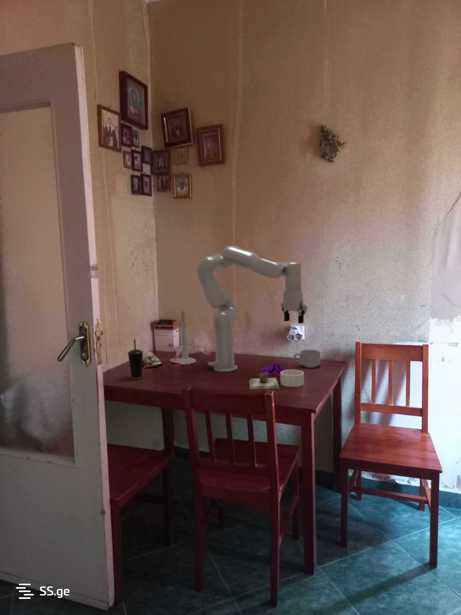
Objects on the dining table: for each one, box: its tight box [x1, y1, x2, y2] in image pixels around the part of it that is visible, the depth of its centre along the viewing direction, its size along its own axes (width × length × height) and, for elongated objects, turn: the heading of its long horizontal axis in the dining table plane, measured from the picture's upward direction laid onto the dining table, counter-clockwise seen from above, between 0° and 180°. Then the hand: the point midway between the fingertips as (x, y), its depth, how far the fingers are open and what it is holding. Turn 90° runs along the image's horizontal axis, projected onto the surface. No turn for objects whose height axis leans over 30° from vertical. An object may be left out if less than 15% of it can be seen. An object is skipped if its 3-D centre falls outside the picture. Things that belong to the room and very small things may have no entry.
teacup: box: [293, 348, 322, 369], centre depth 242 cm, size 14×11×8 cm
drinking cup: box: [127, 339, 144, 379], centre depth 231 cm, size 8×8×20 cm
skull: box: [142, 351, 162, 366], centre depth 256 cm, size 12×10×10 cm
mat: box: [248, 379, 280, 390], centre depth 212 cm, size 13×13×1 cm
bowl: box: [279, 369, 305, 388], centre depth 211 cm, size 10×10×6 cm
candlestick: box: [176, 310, 197, 364], centre depth 258 cm, size 13×13×30 cm
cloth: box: [259, 362, 293, 377], centre depth 231 cm, size 22×19×6 cm
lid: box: [249, 371, 279, 390], centre depth 211 cm, size 12×12×5 cm
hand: (293, 322), depth 228 cm, fingers open, 9 cm apart
